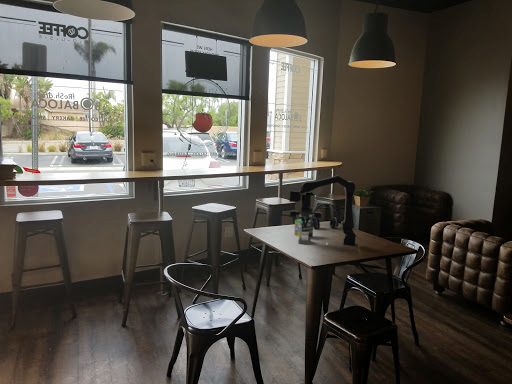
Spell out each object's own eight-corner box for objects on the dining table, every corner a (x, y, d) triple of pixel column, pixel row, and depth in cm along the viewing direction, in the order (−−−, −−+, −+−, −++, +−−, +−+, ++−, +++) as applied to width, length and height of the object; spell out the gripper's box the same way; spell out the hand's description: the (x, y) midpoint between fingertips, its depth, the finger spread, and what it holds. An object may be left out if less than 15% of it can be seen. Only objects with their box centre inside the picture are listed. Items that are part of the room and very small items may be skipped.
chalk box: (305, 235, 263) (306, 213, 261) (313, 238, 255) (314, 216, 253) (293, 236, 259) (294, 214, 257) (301, 240, 251) (301, 217, 249)
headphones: (313, 229, 278) (314, 204, 276) (309, 227, 285) (311, 202, 282) (339, 229, 282) (340, 204, 279) (335, 227, 289) (337, 202, 286)
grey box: (308, 241, 243) (308, 231, 242) (307, 243, 238) (308, 233, 237) (301, 241, 243) (302, 231, 243) (301, 243, 239) (301, 233, 238)
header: (310, 241, 244) (310, 237, 244) (309, 244, 236) (310, 241, 235) (299, 240, 245) (299, 236, 245) (298, 244, 237) (298, 240, 237)
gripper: (289, 203, 231) (288, 229, 233) (321, 205, 227) (320, 231, 230) (291, 200, 242) (290, 225, 244) (322, 202, 238) (320, 227, 241)
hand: (305, 227), depth 239 cm, fingers closed
